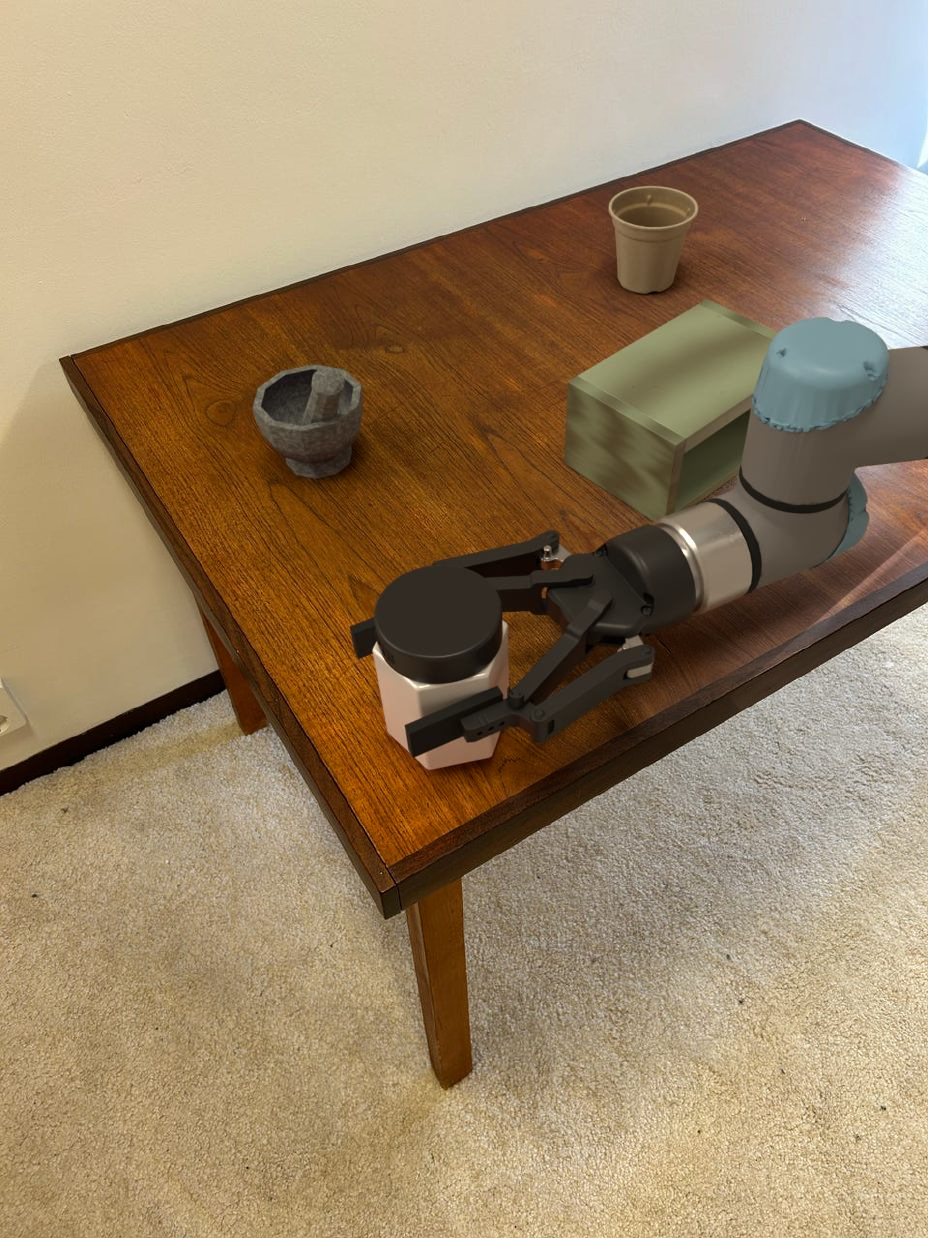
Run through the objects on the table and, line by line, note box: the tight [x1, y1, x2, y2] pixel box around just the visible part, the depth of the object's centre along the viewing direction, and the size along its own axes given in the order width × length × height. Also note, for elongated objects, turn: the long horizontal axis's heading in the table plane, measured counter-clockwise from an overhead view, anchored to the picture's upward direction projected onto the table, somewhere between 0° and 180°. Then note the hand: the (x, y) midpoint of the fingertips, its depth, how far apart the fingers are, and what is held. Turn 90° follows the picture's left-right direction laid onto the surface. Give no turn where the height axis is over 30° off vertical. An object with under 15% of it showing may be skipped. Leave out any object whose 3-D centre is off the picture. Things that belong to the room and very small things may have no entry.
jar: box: [372, 564, 510, 771], centre depth 65 cm, size 9×8×12 cm
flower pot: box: [608, 185, 699, 295], centre depth 106 cm, size 9×9×9 cm
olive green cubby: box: [563, 298, 779, 522], centre depth 86 cm, size 12×18×9 cm, turn 131°
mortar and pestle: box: [252, 364, 364, 480], centre depth 86 cm, size 11×9×12 cm
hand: (380, 690), depth 63 cm, fingers closed on jar, 8 cm apart
